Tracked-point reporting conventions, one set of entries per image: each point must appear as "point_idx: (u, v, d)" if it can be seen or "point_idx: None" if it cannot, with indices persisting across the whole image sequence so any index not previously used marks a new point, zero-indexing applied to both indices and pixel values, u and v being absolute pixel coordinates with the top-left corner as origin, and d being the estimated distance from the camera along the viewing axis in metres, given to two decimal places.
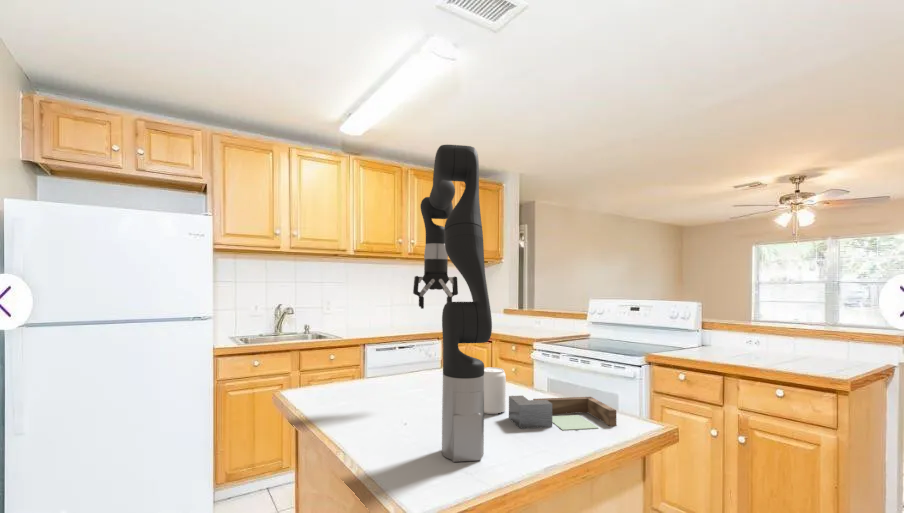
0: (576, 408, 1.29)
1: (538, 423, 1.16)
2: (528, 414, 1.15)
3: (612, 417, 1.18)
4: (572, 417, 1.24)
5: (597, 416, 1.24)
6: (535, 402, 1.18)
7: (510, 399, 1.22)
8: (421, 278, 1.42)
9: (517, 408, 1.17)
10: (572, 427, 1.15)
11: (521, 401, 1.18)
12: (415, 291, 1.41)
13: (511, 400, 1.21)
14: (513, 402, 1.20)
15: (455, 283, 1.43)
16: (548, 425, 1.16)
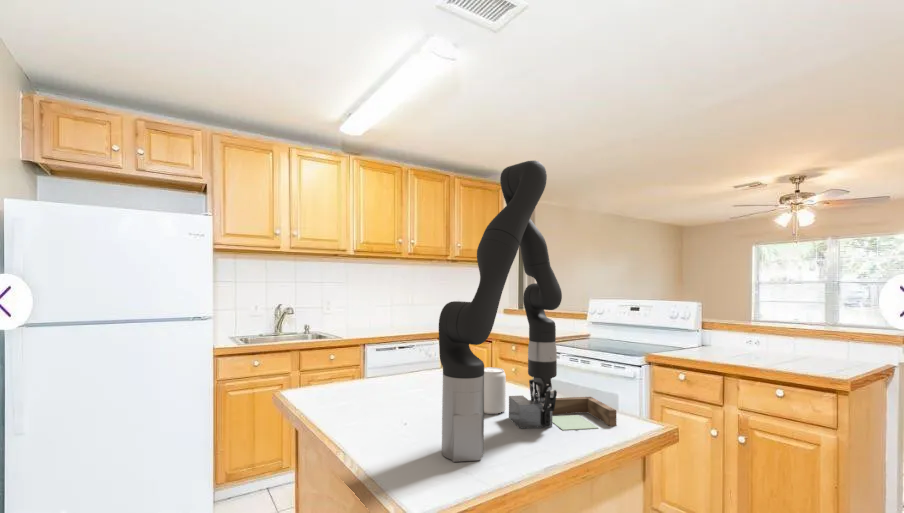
0: (576, 408, 1.29)
1: (538, 423, 1.16)
2: (528, 414, 1.15)
3: (612, 417, 1.18)
4: (572, 417, 1.24)
5: (597, 416, 1.24)
6: (535, 402, 1.18)
7: (510, 399, 1.22)
8: None
9: (517, 408, 1.17)
10: (572, 427, 1.15)
11: (521, 401, 1.18)
12: None
13: (511, 400, 1.21)
14: (513, 402, 1.20)
15: None
16: None
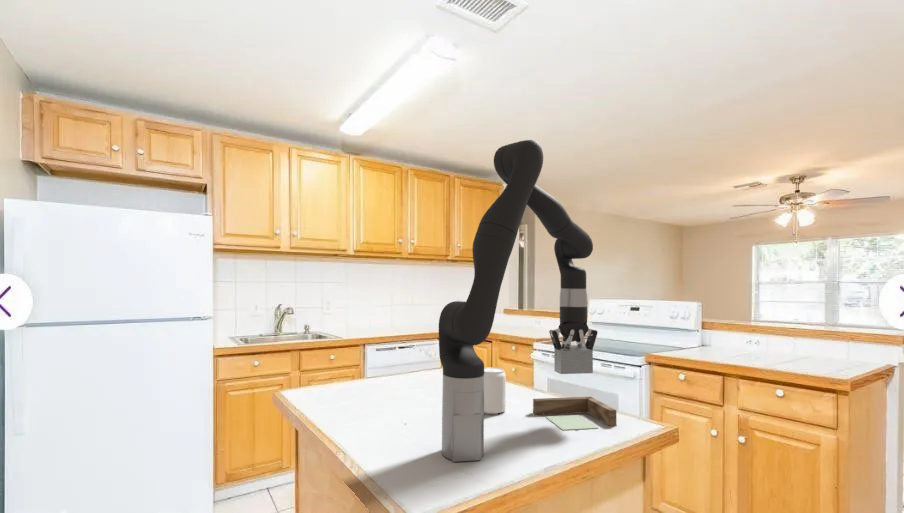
0: (576, 408, 1.29)
1: None
2: None
3: (612, 417, 1.18)
4: (572, 417, 1.24)
5: (597, 416, 1.24)
6: (577, 347, 1.22)
7: (565, 352, 1.16)
8: None
9: (586, 355, 1.17)
10: (572, 427, 1.15)
11: (578, 349, 1.18)
12: None
13: (569, 353, 1.16)
14: (573, 353, 1.16)
15: None
16: None
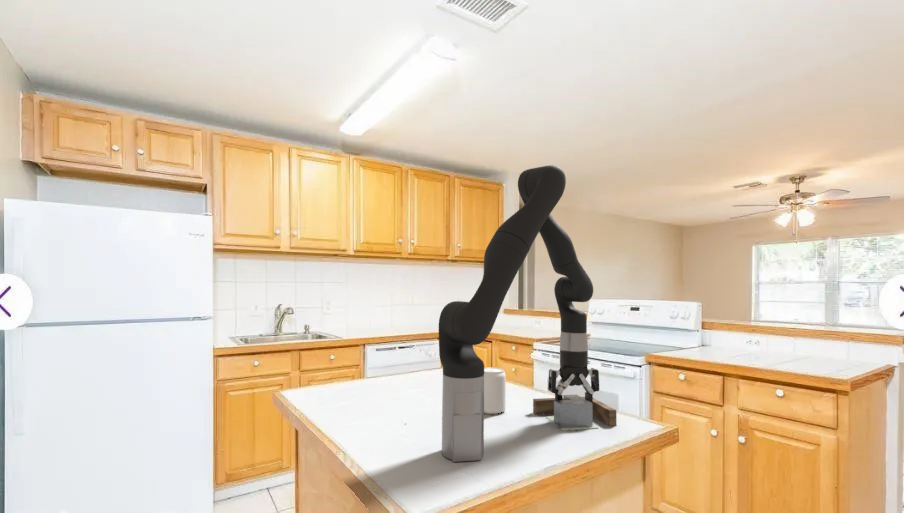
0: None
1: None
2: None
3: (612, 417, 1.18)
4: None
5: (597, 416, 1.24)
6: (577, 398, 1.21)
7: (565, 406, 1.15)
8: None
9: (586, 408, 1.16)
10: None
11: (578, 402, 1.18)
12: None
13: (568, 406, 1.15)
14: (573, 406, 1.16)
15: None
16: None
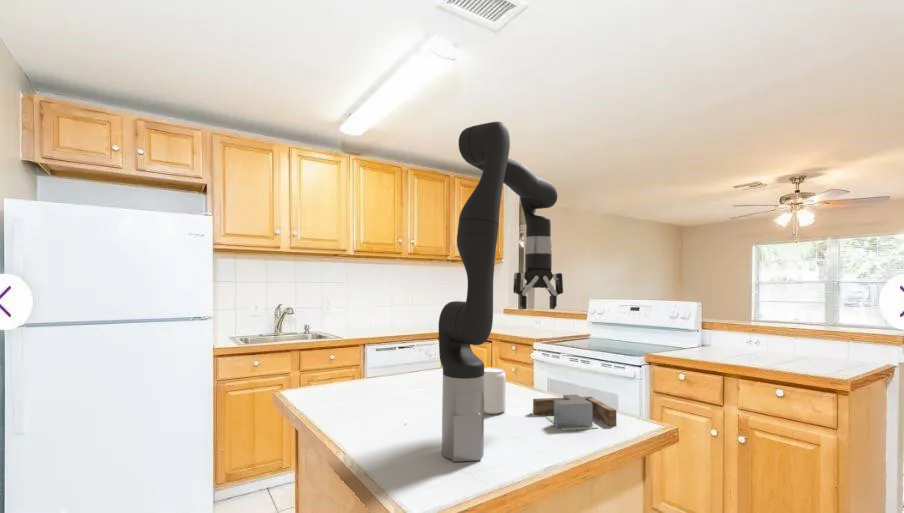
0: None
1: None
2: None
3: (612, 417, 1.18)
4: None
5: (597, 416, 1.24)
6: (577, 398, 1.21)
7: (565, 406, 1.15)
8: None
9: (586, 408, 1.16)
10: None
11: (578, 402, 1.18)
12: None
13: (568, 406, 1.15)
14: (573, 406, 1.16)
15: None
16: None
